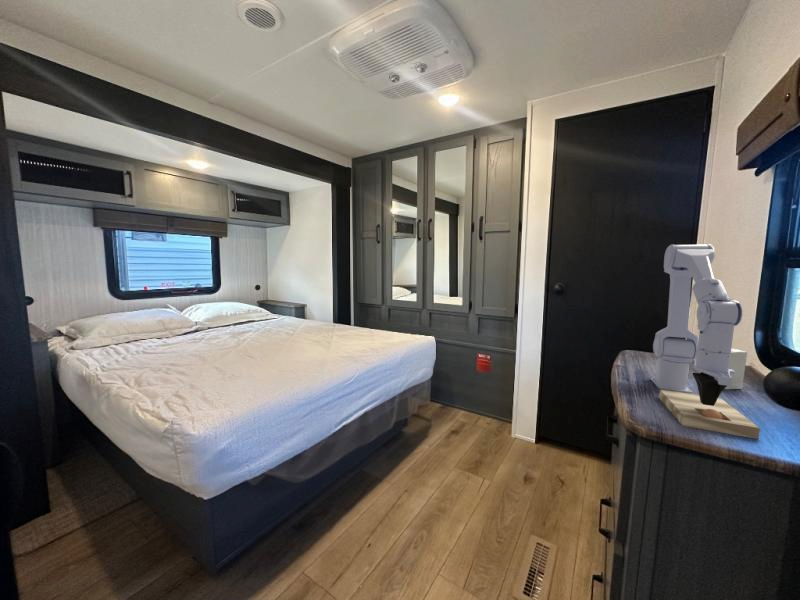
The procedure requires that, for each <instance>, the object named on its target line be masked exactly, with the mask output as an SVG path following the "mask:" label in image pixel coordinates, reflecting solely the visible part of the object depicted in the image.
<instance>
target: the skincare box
mask: <svg viewBox="0 0 800 600" xmlns="http://www.w3.org/2000/svg"><path fill="white" fill-rule="evenodd" d="M747 357H748V351H746V350H741V349H737V348H731V355H730V363H729V369H732V370H734V371H735V374H730V377H732V385H731V386H727V387H726V388H724V390H742V389H743V385H744V377H745V370H746V363H747Z"/></svg>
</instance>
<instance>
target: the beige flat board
mask: <svg viewBox="0 0 800 600" xmlns="http://www.w3.org/2000/svg"><path fill="white" fill-rule="evenodd" d="M658 394H659V395H658V399H660V401H661V402H662V403H663V405H664V406H665V407H666V408H667V409H668V410H669V411H670V412H672V413H671V415H673V416H674V417H675V418H677V419H678V420H677V419H676V420H677V421H678V422H679V423H680V425H681V424H682V425H681V426H683V427H688V428H694V429H700V430H705V431H710V432H715V433H722V434H729V435H733V436H738V437H739V436H740V437H745V438H750V439H757V440H759V437H760V431H761V428H760V426H758V425H756V424H755V423H754V422H752V421H751V420H750V419H749V418H747V417H746V416H745V415H743V414H742V413H741V412H739V411H738V410H737V409H736V408H734V407H733V406H732V405H730V404H729V403H727V401H725V400H724V399H722V398H721V397H718V399H717V401H716V403H715V405H714V406H710V405H704V404H702V403H701V401H700V396H699V394H697V393H687V392H680V391H673V390H666V389H660V388H659V393H658ZM706 409H713V410H716V411H717V412H719V413H720V414H721V416H722V420H721V419H715V418H709V417H703V416H702V415H701V413H702V412H703V411H704V410H706Z"/></svg>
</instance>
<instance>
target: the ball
mask: <svg viewBox="0 0 800 600" xmlns="http://www.w3.org/2000/svg"><path fill="white" fill-rule="evenodd" d="M701 415H702V416H703V417H709V418H715V419H721V420H722V416H721V414H720V413H719V412H717V411H716V410H713V409H706V410H704V411H703V412H702V413H701Z"/></svg>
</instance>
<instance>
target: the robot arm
mask: <svg viewBox="0 0 800 600" xmlns="http://www.w3.org/2000/svg"><path fill="white" fill-rule="evenodd" d="M715 254H716V252H715V247H714V246H713V244H711V243H707V244H670V245H668V246H667V248H666V249H665V253H664V259H663V269H664V270H663V272H664V273H666V274H668V275H669V279H670V280H669V281H670V282H669V292H668V293H669V295H668V297H669V298H668V310H667V311H668V312H667V326H666V327H664V328H662V329H660V330H658V331H657V332H655V334H654V335H655V336H654V340H653V343H652V350H653V354H654V355H655V356H656V357H657V359H656V361H655V368H654V369H655V370H654V377H650V380H651V381H652V383H653V384H655V386H656V387H657V388H658V389H659V390H660V389H662V390H669V391H676V392H683V393H690V394H693V391H692V390H691V389H690V388H688V387H687V386H688V378H689V372H690V371H689V368H690V363H693V368H694V370H696V371H698V372H692V376H693V378H694V381H695V383H696V386H697V390H698V395H699V396H700V401H701V403H702V404H704V405H710V406H714V405H715V403H716V401H717V399H718V398H720V396H721V393H722V392H723V390H725V389H724V388H726V387H727V386H731V385H732V377H730V374H735V371H734V370H732V369H729V363H730V355H731V349H733V348H732V346H733V338H734V332H735V331H734V330H735V327H737V326H738V325H739V324H740V323H741V321H742V319H743V308H742V305H741V303H740V302H739V301H738V300H735V299H734V298H732V297H731V298H730V297H729V296H730V295H729V294H728V293H727V290H726V288H725V286H724V284H723V282H722V281H721V280H720V279H719V278H718V279H717V278H715V277H714V273H713V270H712V263H713V262H714V259H715ZM692 279H693V281H694V284H693V285H691V284H692ZM691 286H692V292H693V295H694V297H695V300H696V302H697V304H698V306H697V309H696V318H697V330H699V335H696V334H695V333H694V332H693V331H691V330H690V329H689V317H690V315H689V313H690V302H691Z"/></svg>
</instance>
